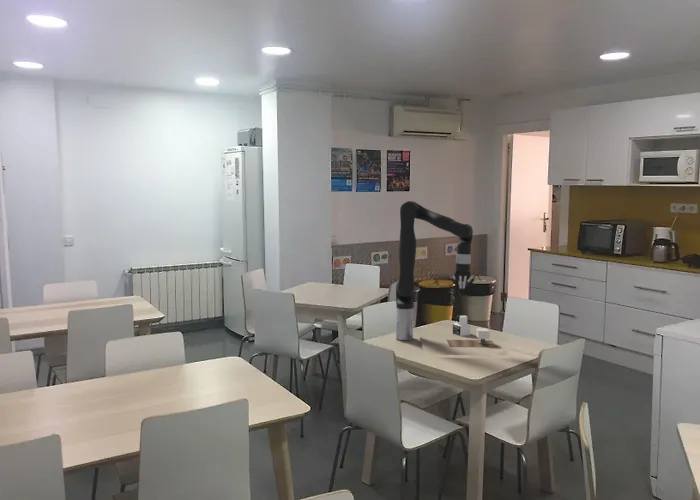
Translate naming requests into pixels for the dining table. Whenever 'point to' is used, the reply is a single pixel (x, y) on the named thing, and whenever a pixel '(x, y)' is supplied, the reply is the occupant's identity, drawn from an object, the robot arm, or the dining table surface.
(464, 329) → the medicine bottle
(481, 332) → the cap
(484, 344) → the post board
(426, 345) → the dining table surface
